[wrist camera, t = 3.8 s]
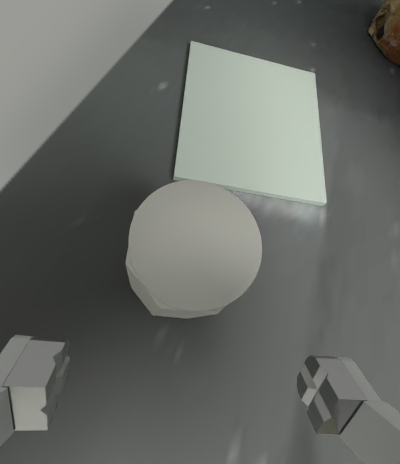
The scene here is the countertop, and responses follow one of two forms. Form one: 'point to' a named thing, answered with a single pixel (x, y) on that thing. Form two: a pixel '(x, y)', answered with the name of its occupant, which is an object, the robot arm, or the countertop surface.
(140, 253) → the domed hexagonal post
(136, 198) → the countertop surface
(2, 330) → the countertop surface
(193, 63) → the mat
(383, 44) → the bread roll
